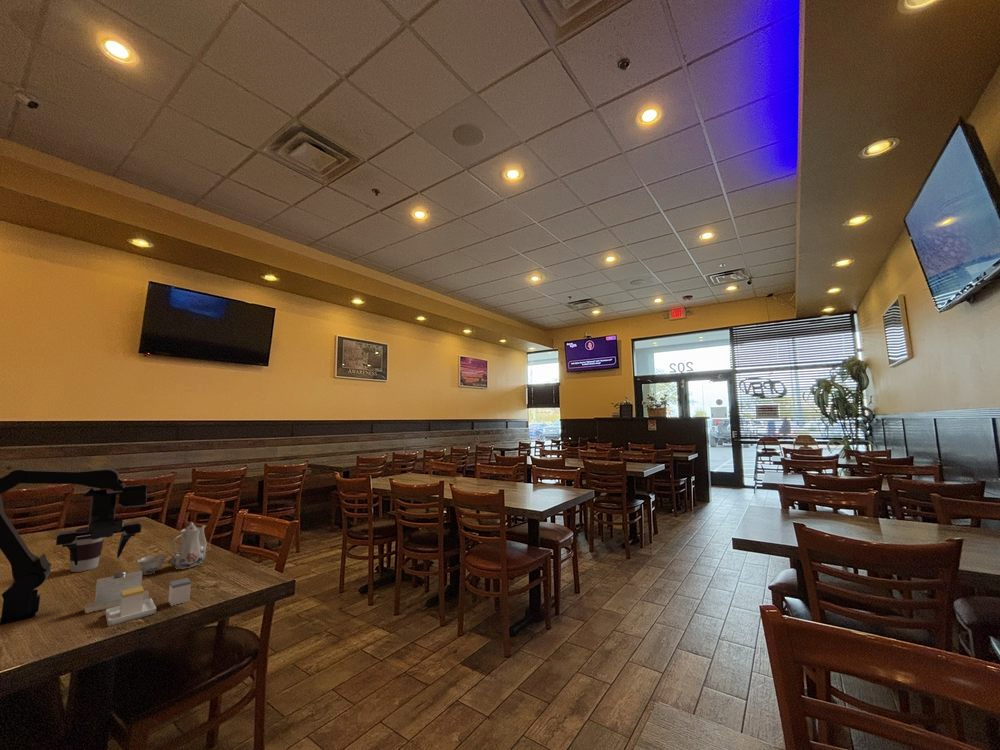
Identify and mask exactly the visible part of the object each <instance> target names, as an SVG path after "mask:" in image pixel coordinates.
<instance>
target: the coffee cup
mask: <svg viewBox="0 0 1000 750" xmlns="http://www.w3.org/2000/svg"><path fill="white" fill-rule="evenodd" d="M88 527H89V525H88V526H83V527H79V528H77V529H75V530H76V533H78V532H85V531H88ZM76 543H77V555H78V564H77V565H75V563H74V560H73V557H72V554H71V552H70V551H69V561H70V565H69V566H70V572H71V573H82V571H83V572H87V570H88V571H91V570H94V569H96V568H98V566H99V561H100V557H101V555H102V552H103V551H102V550H103V546H104V545H103V544H104V537H103V538H98V539H91V537H87V538H80V539H76Z"/></svg>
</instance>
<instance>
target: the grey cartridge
mask: <svg viewBox="0 0 1000 750" xmlns="http://www.w3.org/2000/svg"><path fill="white" fill-rule="evenodd" d="M191 587H192V580H191V579H190V578H189V577H185V578H181V579H175V580H171V581H169V590H168V601H167V603H168V602H169V603H170V604H169V603H168V604H169V606H170V605H171V606H172V607H174V606H173V605H175V606H177V605H176V604H179V605H181V604H180V603H183V604H185V603H184V602H187V601H191V600H190V599H191ZM187 603H188V602H187ZM171 606H170V607H171Z"/></svg>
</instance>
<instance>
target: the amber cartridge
mask: <svg viewBox="0 0 1000 750" xmlns="http://www.w3.org/2000/svg"><path fill="white" fill-rule="evenodd" d="M144 590H145V589H144V586H143V585H141V586H140V587H136V588H131V589H126V590H122V592H121V603H120V605H119V606H120V617H122V616H126V615H130V614H134V613H138V612H142V606H143V595H144Z"/></svg>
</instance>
